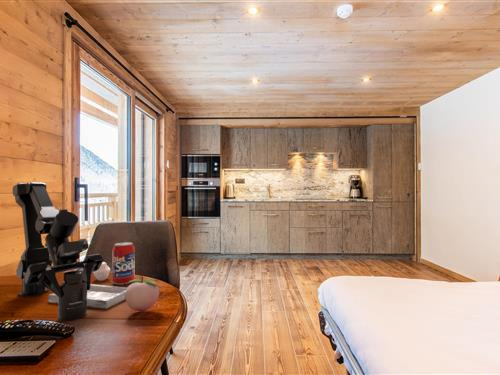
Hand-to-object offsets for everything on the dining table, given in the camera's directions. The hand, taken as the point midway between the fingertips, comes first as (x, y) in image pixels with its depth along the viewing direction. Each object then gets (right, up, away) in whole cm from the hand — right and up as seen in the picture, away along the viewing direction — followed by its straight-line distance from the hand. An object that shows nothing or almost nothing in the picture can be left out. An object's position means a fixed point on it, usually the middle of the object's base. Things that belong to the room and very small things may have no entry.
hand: (75, 293), depth 80 cm
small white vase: (-12, -8, +37) cm, 39 cm away
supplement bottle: (-1, -7, +1) cm, 7 cm away
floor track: (-3, -7, +15) cm, 17 cm away
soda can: (-1, -8, +32) cm, 33 cm away
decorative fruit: (+17, -7, +3) cm, 19 cm away
